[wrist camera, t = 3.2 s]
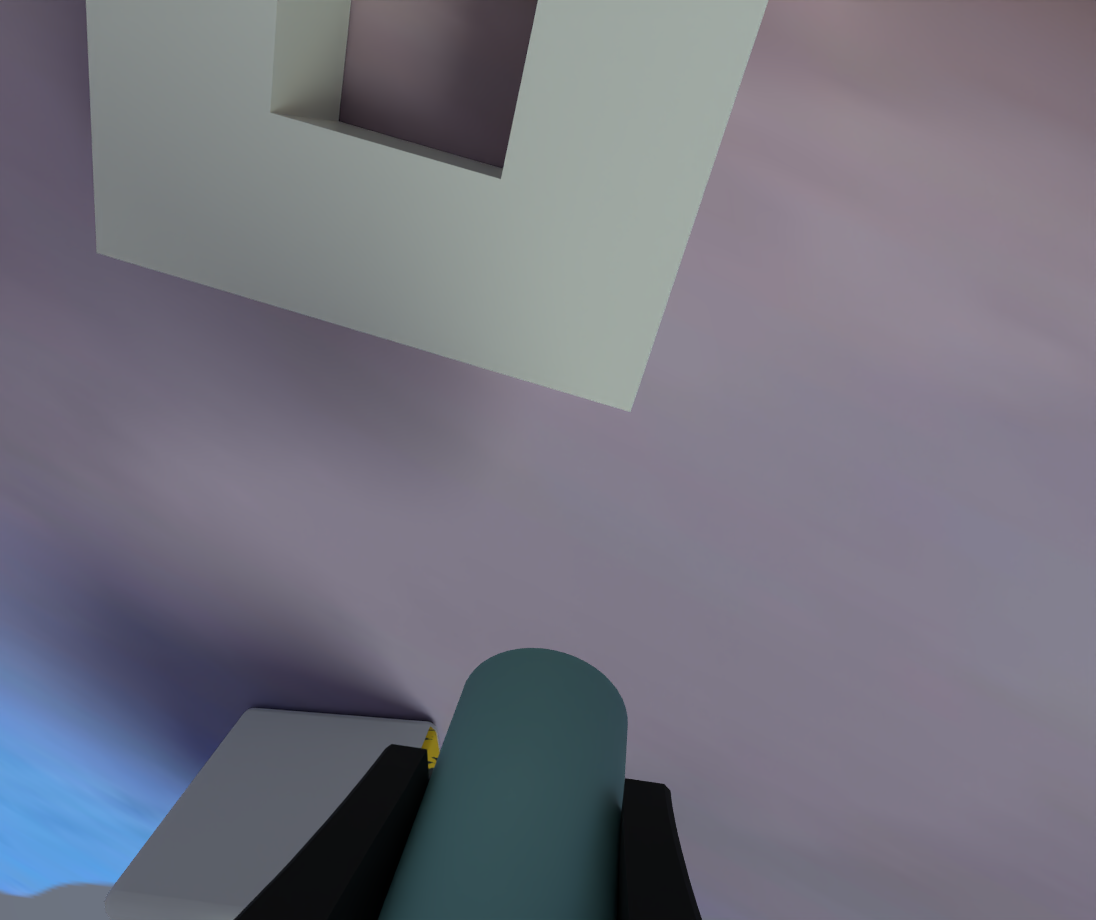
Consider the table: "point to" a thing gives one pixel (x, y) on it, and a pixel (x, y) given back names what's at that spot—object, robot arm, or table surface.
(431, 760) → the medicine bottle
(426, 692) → the table surface
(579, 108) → the socket slab
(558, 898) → the peg
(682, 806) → the table surface
